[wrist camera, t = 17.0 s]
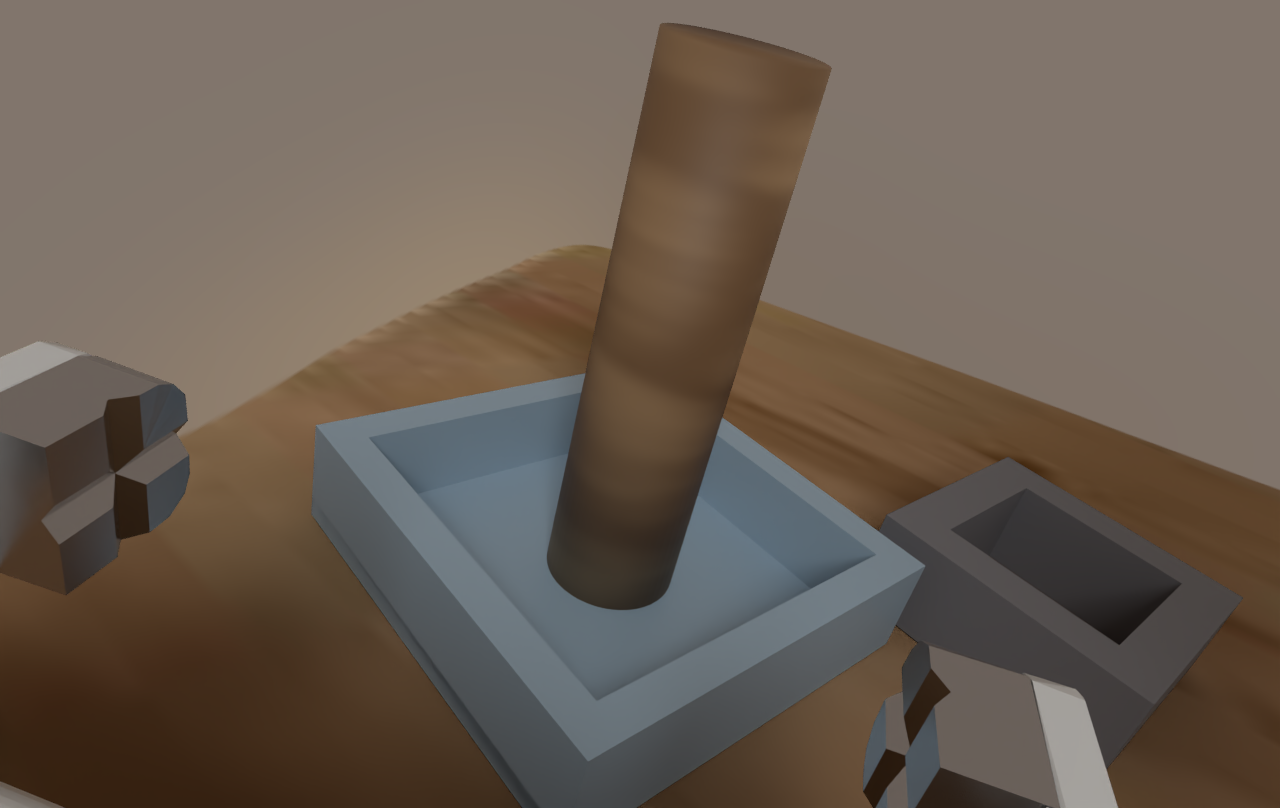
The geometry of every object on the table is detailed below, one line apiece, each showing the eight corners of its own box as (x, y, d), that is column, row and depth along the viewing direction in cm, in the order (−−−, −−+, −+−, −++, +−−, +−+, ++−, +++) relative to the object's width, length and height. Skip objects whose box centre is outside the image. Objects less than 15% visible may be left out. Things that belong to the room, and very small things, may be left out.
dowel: (617, 510, 26) (740, 33, 20) (696, 582, 24) (865, 75, 17) (521, 545, 24) (624, 15, 17) (600, 628, 22) (752, 62, 15)
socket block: (973, 522, 32) (1008, 456, 30) (1190, 667, 27) (1243, 597, 26) (851, 589, 27) (886, 514, 25) (1095, 783, 22) (1154, 704, 21)
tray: (627, 431, 32) (645, 361, 30) (886, 643, 25) (925, 565, 23) (311, 514, 24) (315, 425, 23) (559, 858, 17) (588, 761, 16)
